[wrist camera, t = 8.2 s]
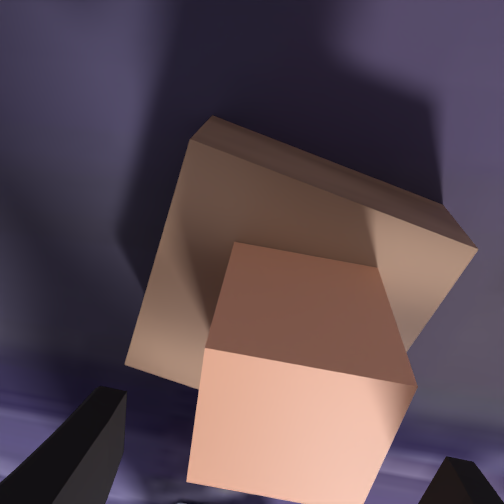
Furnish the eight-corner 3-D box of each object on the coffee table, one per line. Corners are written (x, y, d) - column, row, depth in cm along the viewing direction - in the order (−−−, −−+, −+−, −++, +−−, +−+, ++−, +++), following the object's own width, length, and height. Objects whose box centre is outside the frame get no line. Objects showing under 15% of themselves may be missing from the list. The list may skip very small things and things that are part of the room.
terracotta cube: (341, 374, 16) (358, 513, 11) (217, 352, 16) (186, 482, 11) (378, 267, 14) (417, 386, 9) (234, 241, 14) (204, 348, 9)
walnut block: (337, 367, 21) (345, 438, 17) (155, 304, 20) (124, 364, 16) (440, 200, 16) (478, 249, 13) (214, 113, 16) (189, 138, 12)
